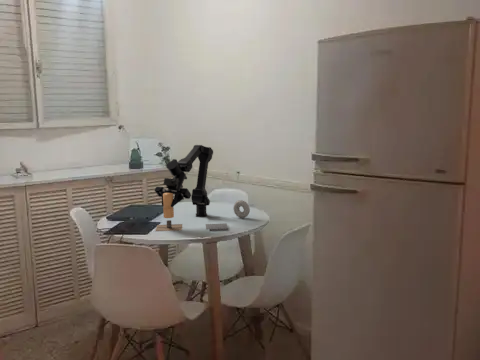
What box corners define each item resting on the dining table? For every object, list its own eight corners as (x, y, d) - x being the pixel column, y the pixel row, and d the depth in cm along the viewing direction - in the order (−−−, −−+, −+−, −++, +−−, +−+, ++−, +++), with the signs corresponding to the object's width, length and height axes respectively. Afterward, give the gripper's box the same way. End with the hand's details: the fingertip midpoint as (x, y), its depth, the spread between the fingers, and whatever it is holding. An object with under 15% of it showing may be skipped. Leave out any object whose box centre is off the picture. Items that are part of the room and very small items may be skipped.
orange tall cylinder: (164, 216, 252) (163, 192, 250) (173, 215, 253) (173, 192, 251) (163, 218, 247) (162, 194, 246) (173, 217, 248) (172, 194, 246)
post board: (157, 226, 257) (156, 218, 256) (182, 225, 258) (182, 217, 257) (155, 233, 244) (155, 224, 243) (182, 232, 245) (181, 223, 245)
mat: (205, 226, 257) (205, 224, 257) (226, 225, 258) (226, 223, 258) (206, 231, 246) (206, 229, 246) (228, 230, 248) (228, 228, 247)
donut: (232, 217, 276) (232, 200, 274) (235, 216, 279) (235, 198, 277) (247, 219, 270) (247, 201, 269) (251, 218, 273) (250, 200, 272)
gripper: (155, 171, 254) (144, 196, 246) (187, 172, 246) (176, 198, 238) (164, 183, 262) (153, 208, 254) (195, 185, 255) (185, 211, 247)
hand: (166, 206), depth 248 cm, fingers closed on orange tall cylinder, 5 cm apart
